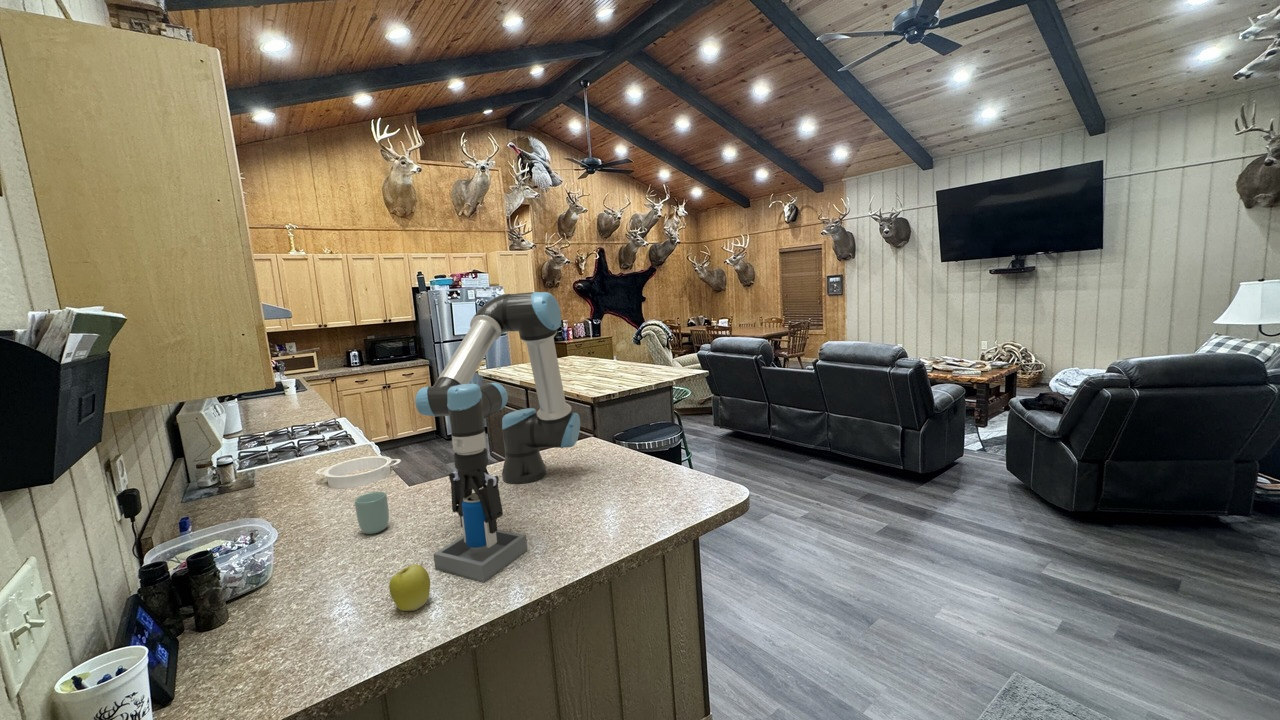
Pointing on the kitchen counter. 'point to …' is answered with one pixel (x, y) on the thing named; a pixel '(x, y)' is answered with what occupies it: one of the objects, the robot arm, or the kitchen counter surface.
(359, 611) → the kitchen counter surface
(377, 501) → the cup
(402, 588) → the apple
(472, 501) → the beverage can
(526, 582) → the kitchen counter surface
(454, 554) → the bin
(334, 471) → the oval baking dish
